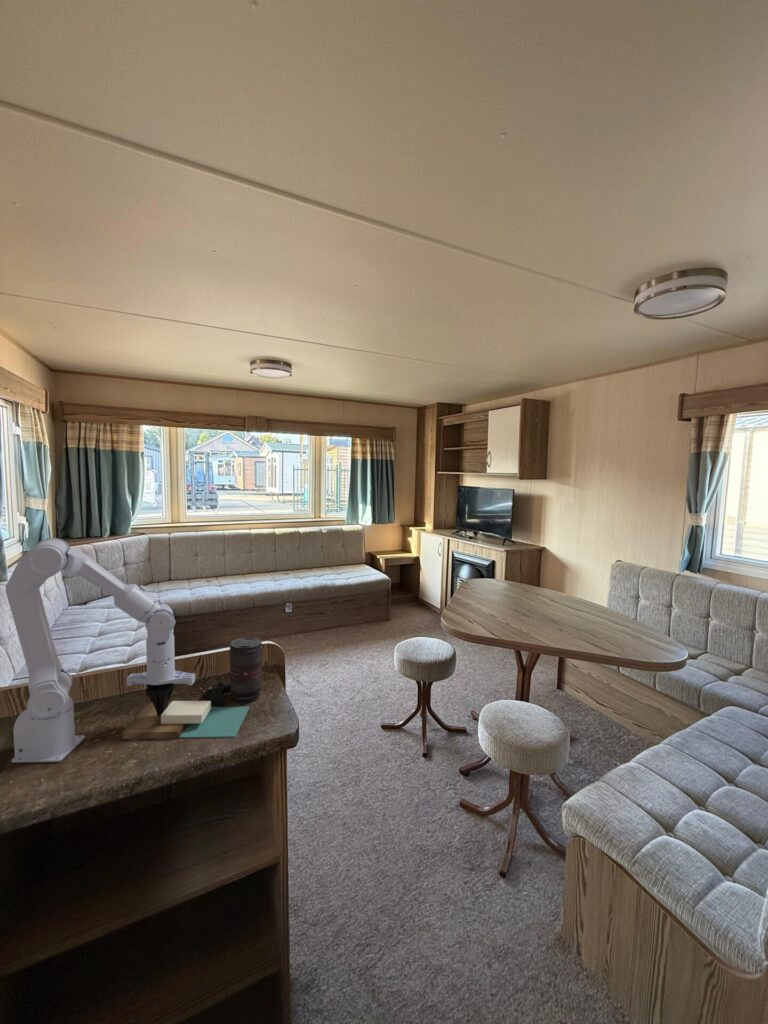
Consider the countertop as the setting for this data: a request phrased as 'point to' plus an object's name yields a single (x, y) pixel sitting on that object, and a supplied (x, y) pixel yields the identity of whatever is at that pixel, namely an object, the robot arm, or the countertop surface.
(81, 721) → the countertop surface
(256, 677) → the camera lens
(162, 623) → the robot arm
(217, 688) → the game controller
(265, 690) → the countertop surface
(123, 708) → the countertop surface
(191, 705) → the cream tile
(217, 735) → the teal mat
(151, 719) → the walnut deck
